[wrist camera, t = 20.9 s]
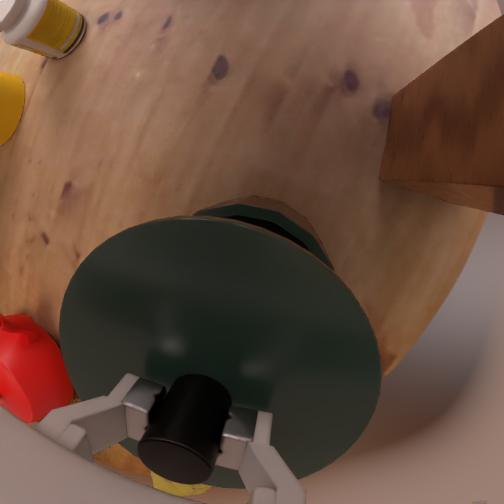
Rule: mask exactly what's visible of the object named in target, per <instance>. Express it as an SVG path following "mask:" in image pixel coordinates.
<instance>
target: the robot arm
mask: <svg viewBox="0 0 504 504" xmlns="http://www.w3.org/2000/svg"><path fill="white" fill-rule="evenodd" d="M165 395H166V387H165V386H163V385H160V384H158V383H155V382H152V381H149V380H147V379H144V378H141V377H138V376H135V375H133V374H131V373H127V374H125V376H124V377H123V378H122V379H121V381H120V382H119V383H118V384H117V385H116V387H115V388H114V389H113V390H112V392H111V393H110V394H109V395H108V396H107V397H106V396H100V397H97V398H93V399H90V400H86V401H83V402H79V403H75V404H72V405H68V406H64V407H60V408H56V409H52V410H51V411H50V412H49V413H48V414H47V415H46V416H45V417H44V418H43V419H42V420H41V421H40V423H39V424H38V425H37V426H36V427H35V428H33V427H31V426H30V425H28V424H27V423H26V422H24V421H23V420H21V419H20V418H18V417H17V416H16V415H14V414H13V413H12V412H10V411H9V410H8V409H6V408H5V407H4V406H2V405H1V404H0V504H205V503H201V502H197V501H194V500H190V499H186V498H183V497H180V496H177V495H173V494H170V493H167V492H164V491H161V490H158V489H155V488H153V487H150V486H147V485H144V484H142V483H139V482H137V481H134V480H131V479H129V478H127V477H124V476H122V475H120V474H117V473H115V472H113V471H111V470H108V469H106V468H104V467H102V466H100V465H98V464H95V462H94V459H93V455H94V454H96V453H98V452H100V451H102V450H104V449H106V448H108V447H110V446H112V445H114V444H116V443H118V442H120V441H122V440H124V439H126V438H127V437H129V438H132V439H135V440H138V441H140V439H141V438H142V436H143V434H144V432H145V431H146V429H147V427H148V425H149V424H150V422H151V420H152V418H153V417H154V415H155V413H156V411H157V410H158V408H159V406H160V404H161V403H162V401H163V399H164V397H165ZM272 417H273V414H272V413H269V412H264V411H259V410H253V409H248V408H243V407H239V406H234V405H230V408H229V412H228V416H227V420H226V422H225V426H224V430H223V433H222V437H221V441H220V445H219V447H220V450H219V453H218V457H217V460H216V464H215V465H218V466H222V467H226V468H230V469H234V470H238V472H239V474H240V476H241V478H242V481H243V483H244V485H245V487H246V489H247V491H248V493H249V495H250V498H249V500H248V502H247V504H306V490H305V489H304V488H303V486H302V485H301V484H300V482H299V481H298V480H297V478H296V477H295V475H294V474H293V473H292V471H291V470H290V469H289V467H288V466H287V464H286V463H285V462H284V460H283V459H282V457H281V456H280V455H279V453H278V452H277V450H276V449H275V448H274V446H270V436H271V427H272ZM470 504H490V503H488V502H486V501H478V502H474V503H470Z"/></svg>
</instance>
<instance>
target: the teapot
mask: <svg viewBox="0 0 504 504" xmlns="http://www.w3.org/2000/svg"><path fill="white" fill-rule="evenodd" d="M73 395H74V393H73V385H72V383H71V380H70V378H69V376H68V373H67V370H66V367H65V364H64V361H63V356H62V352H61V350H60V349H59V347H58V345H57V344H56V342H55V341H54V340H53V339H52V338H51V337H50V336H49V335H48V334H47V333H46V332H45V330H44V329H43V328H42V327H40V326H39V325H37V324H36V323H34V321H33V319H32V318H31V317H29V316H26V315H24V314H17V315H9V316H5V317H4V316H3V315H2V314H0V404H1V405H2V406H4V407H5V408H6V409H8V410H9V411H10V412H12V413H13V414H14V415H16V416H17V417H18V418H20V419H21V420H23V421H24V422H26V423H32V422H37V421H41V420H42V419H43V418H44V417H45V416H46V415H47V414H48V413H49V412H50V411H51V410H52V409H56V408H60V407H64V406H68V405H69V403H70V401H71V399H72V397H73Z"/></svg>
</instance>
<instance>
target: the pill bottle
mask: <svg viewBox="0 0 504 504" xmlns="http://www.w3.org/2000/svg"><path fill="white" fill-rule="evenodd" d="M85 27H86V21H85V18H84V16H83V15H82V14H80V13H79V12H77V11H76V10H74V9H72V8H71V7H69V6H67V5H66V4H64V3H62V2H61V1H59V0H0V32H2V36H3V39H4V41H5V42H6V43H7V44H9V45H12V46H15V47H19V48H22V49H25V50H28V51H31V52H34V53H37V54H40V55H42V56H45V57H48V58H51V59H58V58H61V57H64V56H65V55H67V54H68V53H70V52H71V51H72V50H73V49H74V48H75V47H76V45H77V44H78V43H79V41H80V40H81V38H82V36H83V34H84V31H85Z"/></svg>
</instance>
